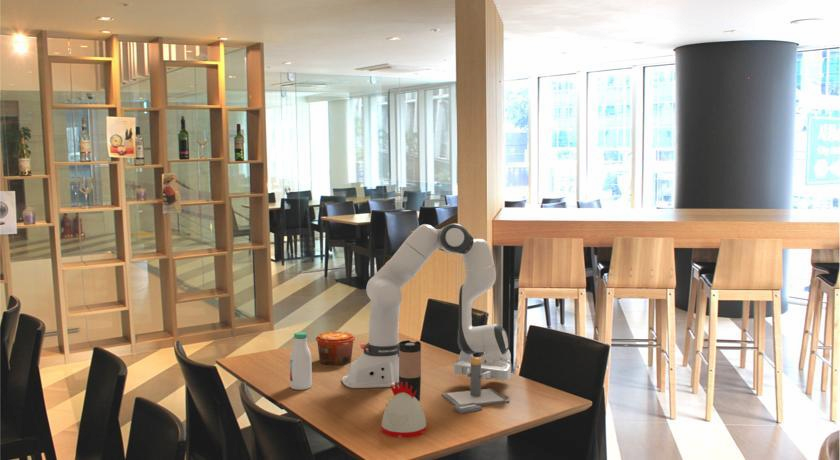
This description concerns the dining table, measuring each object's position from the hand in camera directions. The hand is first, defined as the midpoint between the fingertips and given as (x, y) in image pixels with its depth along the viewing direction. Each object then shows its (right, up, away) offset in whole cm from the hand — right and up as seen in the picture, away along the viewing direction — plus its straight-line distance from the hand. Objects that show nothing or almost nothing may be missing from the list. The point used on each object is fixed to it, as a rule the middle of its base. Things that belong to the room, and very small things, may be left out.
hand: (474, 375), depth 265 cm
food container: (-54, -4, +50) cm, 73 cm away
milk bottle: (-62, -7, +14) cm, 64 cm away
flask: (0, -4, +51) cm, 51 cm away
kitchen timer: (-24, -11, -28) cm, 39 cm away
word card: (-3, -9, -10) cm, 14 cm away
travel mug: (-23, -9, +1) cm, 24 cm away
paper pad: (0, -8, +2) cm, 9 cm away
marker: (0, -7, +2) cm, 7 cm away
